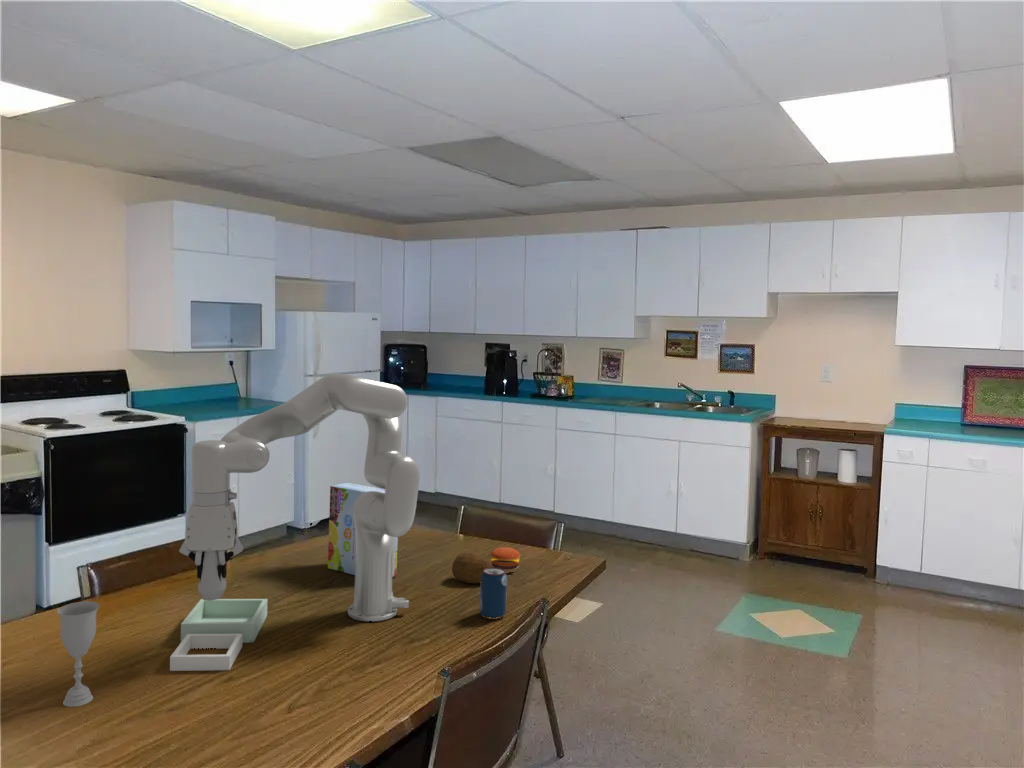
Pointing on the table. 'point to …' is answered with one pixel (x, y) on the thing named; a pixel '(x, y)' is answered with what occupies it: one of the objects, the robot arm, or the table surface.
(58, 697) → the table surface
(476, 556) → the potato
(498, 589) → the soda can
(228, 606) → the green bin
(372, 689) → the table surface
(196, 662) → the grey square frame
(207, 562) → the salt shaker
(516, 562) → the hamburger
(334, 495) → the snack box
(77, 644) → the chalice
